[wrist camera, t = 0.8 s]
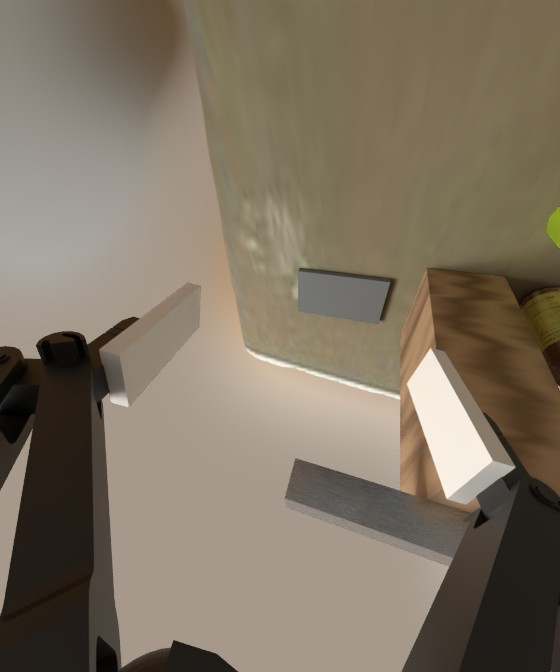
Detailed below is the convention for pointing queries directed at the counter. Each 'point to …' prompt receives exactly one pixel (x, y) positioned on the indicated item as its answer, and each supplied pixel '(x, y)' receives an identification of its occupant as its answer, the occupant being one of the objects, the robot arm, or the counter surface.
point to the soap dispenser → (554, 227)
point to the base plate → (342, 295)
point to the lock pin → (377, 511)
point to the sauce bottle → (545, 325)
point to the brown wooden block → (479, 375)
